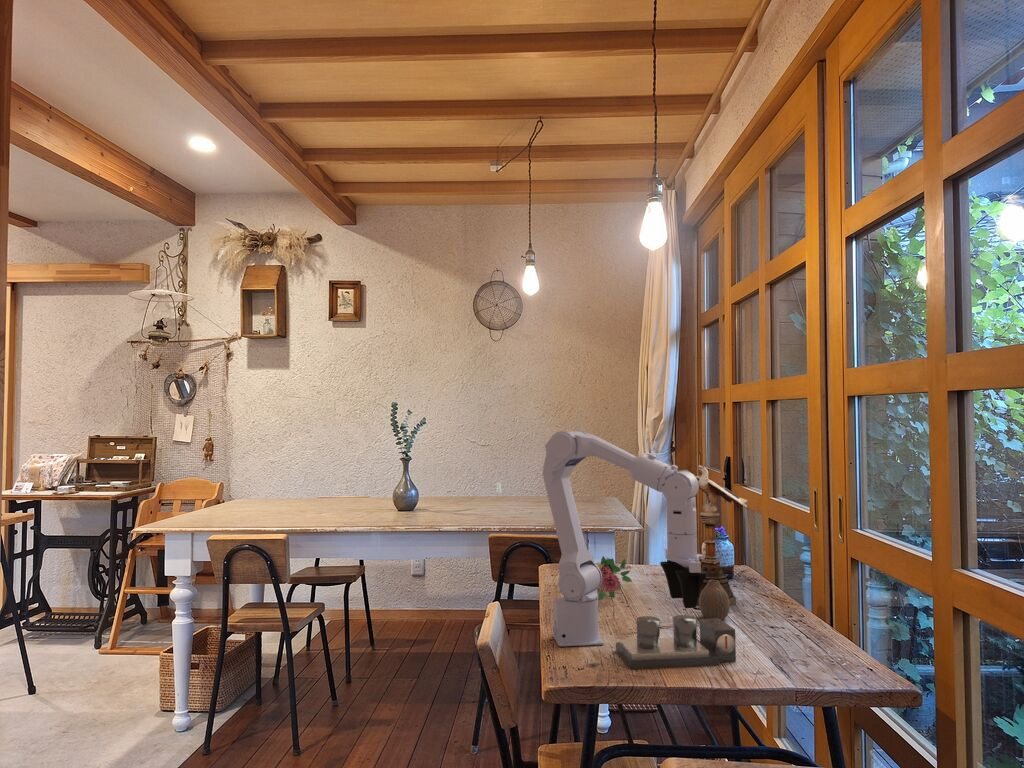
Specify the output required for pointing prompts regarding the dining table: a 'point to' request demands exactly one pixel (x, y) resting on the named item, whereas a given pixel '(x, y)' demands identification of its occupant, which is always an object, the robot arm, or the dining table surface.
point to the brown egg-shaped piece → (714, 601)
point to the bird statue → (710, 520)
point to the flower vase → (611, 576)
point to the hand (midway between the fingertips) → (683, 602)
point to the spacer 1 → (648, 632)
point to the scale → (684, 649)
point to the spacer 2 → (684, 631)
